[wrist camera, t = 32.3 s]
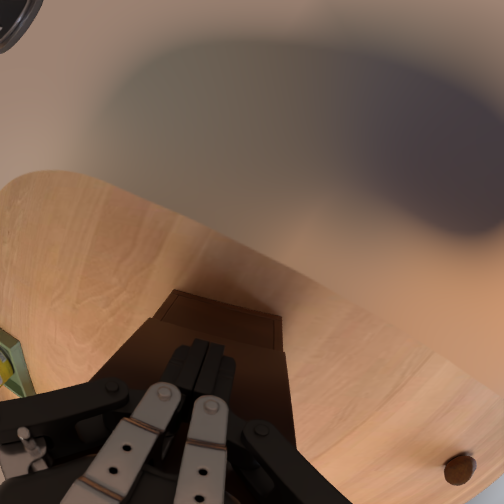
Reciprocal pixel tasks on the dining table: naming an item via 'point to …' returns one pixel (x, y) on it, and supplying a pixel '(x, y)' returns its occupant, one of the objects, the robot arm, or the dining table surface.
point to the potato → (460, 470)
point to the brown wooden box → (222, 320)
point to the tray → (17, 367)
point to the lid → (242, 395)
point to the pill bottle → (5, 366)
